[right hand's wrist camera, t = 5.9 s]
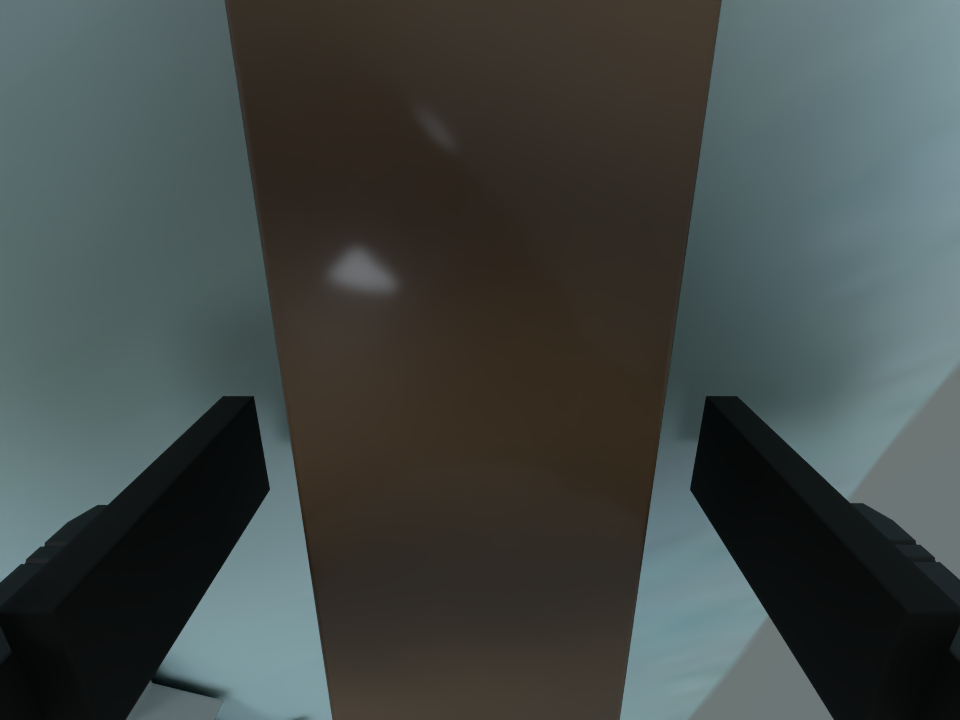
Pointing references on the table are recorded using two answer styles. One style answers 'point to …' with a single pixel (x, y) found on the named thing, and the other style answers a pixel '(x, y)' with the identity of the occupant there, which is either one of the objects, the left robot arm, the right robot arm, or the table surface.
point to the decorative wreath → (173, 705)
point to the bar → (474, 327)
